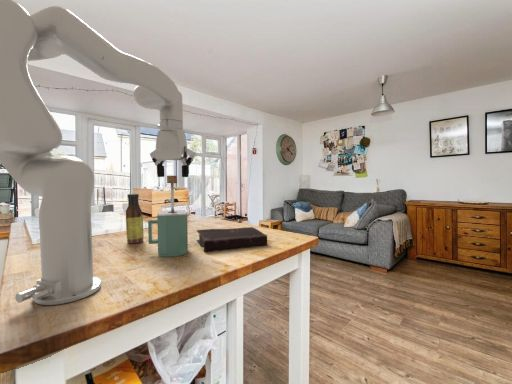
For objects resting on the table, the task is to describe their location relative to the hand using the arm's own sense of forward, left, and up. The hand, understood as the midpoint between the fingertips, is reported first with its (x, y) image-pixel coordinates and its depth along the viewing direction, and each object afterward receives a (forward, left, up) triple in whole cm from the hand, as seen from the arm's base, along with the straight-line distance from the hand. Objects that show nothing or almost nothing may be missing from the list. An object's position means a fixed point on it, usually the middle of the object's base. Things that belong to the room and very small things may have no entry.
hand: (172, 176), depth 87 cm
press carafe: (-1, +1, -27) cm, 27 cm away
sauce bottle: (+8, +23, -27) cm, 36 cm away
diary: (+18, -15, -28) cm, 36 cm away
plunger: (0, 0, -15) cm, 15 cm away
